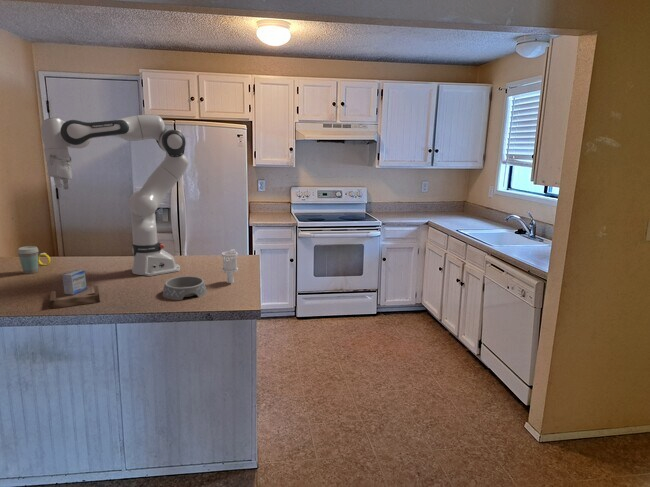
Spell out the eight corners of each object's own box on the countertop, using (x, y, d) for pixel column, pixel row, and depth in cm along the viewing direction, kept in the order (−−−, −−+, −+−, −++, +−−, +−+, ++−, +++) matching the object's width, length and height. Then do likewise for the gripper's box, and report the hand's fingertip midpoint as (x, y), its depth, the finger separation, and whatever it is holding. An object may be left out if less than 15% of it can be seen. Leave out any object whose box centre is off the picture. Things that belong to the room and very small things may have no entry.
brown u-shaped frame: (98, 292, 189) (98, 285, 189) (99, 302, 179) (99, 295, 178) (52, 298, 181) (51, 291, 181) (50, 308, 171) (49, 301, 170)
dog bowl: (212, 295, 190) (211, 283, 188) (167, 303, 180) (167, 290, 179) (200, 284, 204) (199, 273, 203) (158, 290, 194) (157, 279, 193)
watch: (37, 265, 225) (35, 254, 224) (41, 264, 228) (38, 253, 227) (48, 265, 225) (46, 254, 224) (52, 263, 228) (50, 252, 226)
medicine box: (73, 295, 185) (71, 275, 183) (64, 294, 186) (61, 274, 184) (87, 289, 193) (85, 270, 191) (78, 288, 194) (75, 269, 192)
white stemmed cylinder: (241, 281, 209) (240, 250, 205) (232, 285, 203) (231, 253, 199) (228, 278, 212) (228, 248, 208) (219, 282, 205) (218, 251, 202)
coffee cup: (45, 270, 217) (42, 246, 214) (29, 275, 209) (25, 250, 206) (32, 268, 219) (29, 245, 216) (15, 273, 211) (12, 249, 209)
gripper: (57, 152, 183) (63, 186, 184) (72, 159, 202) (77, 189, 204) (40, 154, 181) (46, 188, 182) (57, 160, 201) (62, 191, 202)
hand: (63, 188), depth 193 cm, fingers open, 8 cm apart
